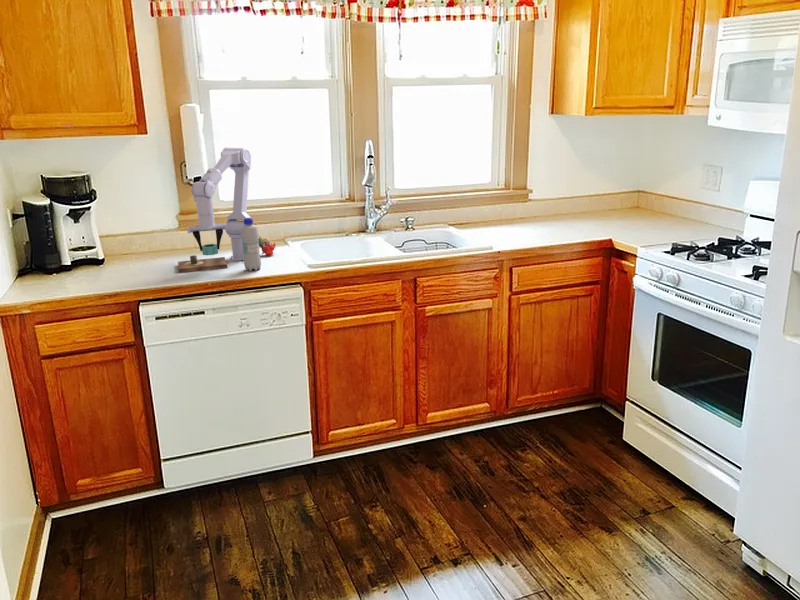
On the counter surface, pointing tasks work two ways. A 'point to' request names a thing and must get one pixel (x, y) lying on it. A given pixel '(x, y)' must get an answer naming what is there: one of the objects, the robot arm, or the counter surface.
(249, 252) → the bottle
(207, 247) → the ring
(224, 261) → the board
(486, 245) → the counter surface
